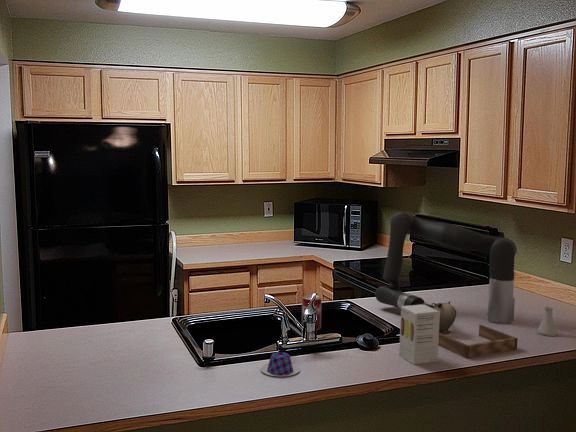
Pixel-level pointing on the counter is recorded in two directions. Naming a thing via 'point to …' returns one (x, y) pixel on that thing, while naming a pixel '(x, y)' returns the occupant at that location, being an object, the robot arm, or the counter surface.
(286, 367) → the pudding
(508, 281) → the robot arm
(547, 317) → the flask
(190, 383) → the counter surface
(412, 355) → the supplement box
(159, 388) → the counter surface
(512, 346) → the frame
